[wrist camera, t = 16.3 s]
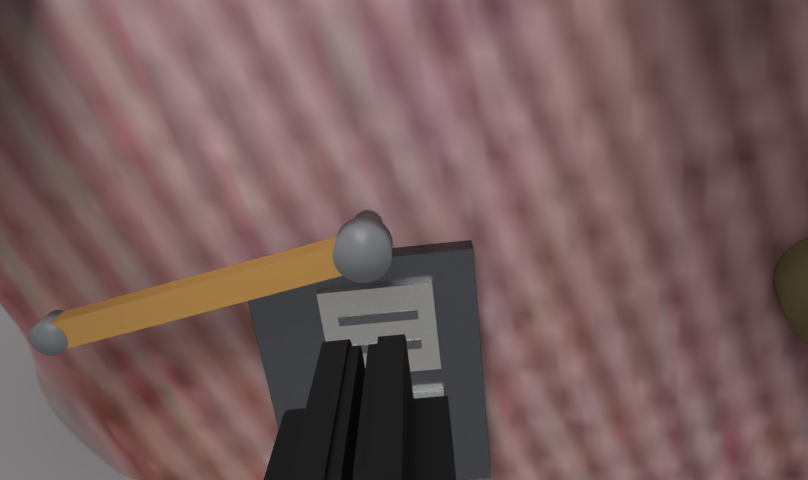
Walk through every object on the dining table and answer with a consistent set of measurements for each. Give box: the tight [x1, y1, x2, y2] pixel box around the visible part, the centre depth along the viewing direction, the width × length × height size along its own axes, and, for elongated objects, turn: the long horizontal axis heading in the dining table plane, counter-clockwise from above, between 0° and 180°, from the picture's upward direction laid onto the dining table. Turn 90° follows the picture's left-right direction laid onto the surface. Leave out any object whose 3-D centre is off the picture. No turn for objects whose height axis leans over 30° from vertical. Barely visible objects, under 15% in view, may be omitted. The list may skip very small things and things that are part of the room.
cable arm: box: [29, 217, 393, 356], centre depth 39 cm, size 4×24×2 cm, turn 106°
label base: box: [248, 210, 491, 480], centre depth 45 cm, size 16×23×3 cm
